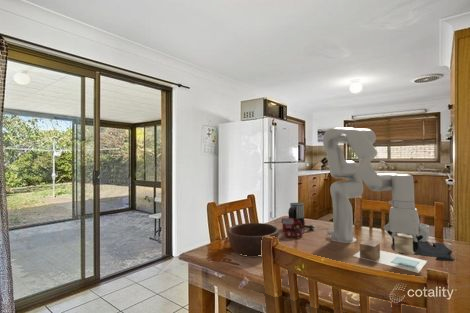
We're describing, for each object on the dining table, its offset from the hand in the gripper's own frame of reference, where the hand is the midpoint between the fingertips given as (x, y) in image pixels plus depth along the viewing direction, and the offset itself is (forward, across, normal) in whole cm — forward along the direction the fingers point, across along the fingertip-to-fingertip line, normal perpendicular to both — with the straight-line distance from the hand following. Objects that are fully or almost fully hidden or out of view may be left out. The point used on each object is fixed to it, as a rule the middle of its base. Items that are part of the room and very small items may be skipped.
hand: (405, 248), depth 104 cm
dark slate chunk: (+7, +1, +19) cm, 20 cm away
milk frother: (+6, -61, +20) cm, 64 cm away
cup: (+7, -2, +38) cm, 38 cm away
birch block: (+1, 0, 0) cm, 1 cm away
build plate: (+6, -6, 0) cm, 9 cm away
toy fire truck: (+6, -55, +2) cm, 56 cm away
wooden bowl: (+6, -57, -29) cm, 65 cm away
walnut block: (+5, -12, -4) cm, 14 cm away
